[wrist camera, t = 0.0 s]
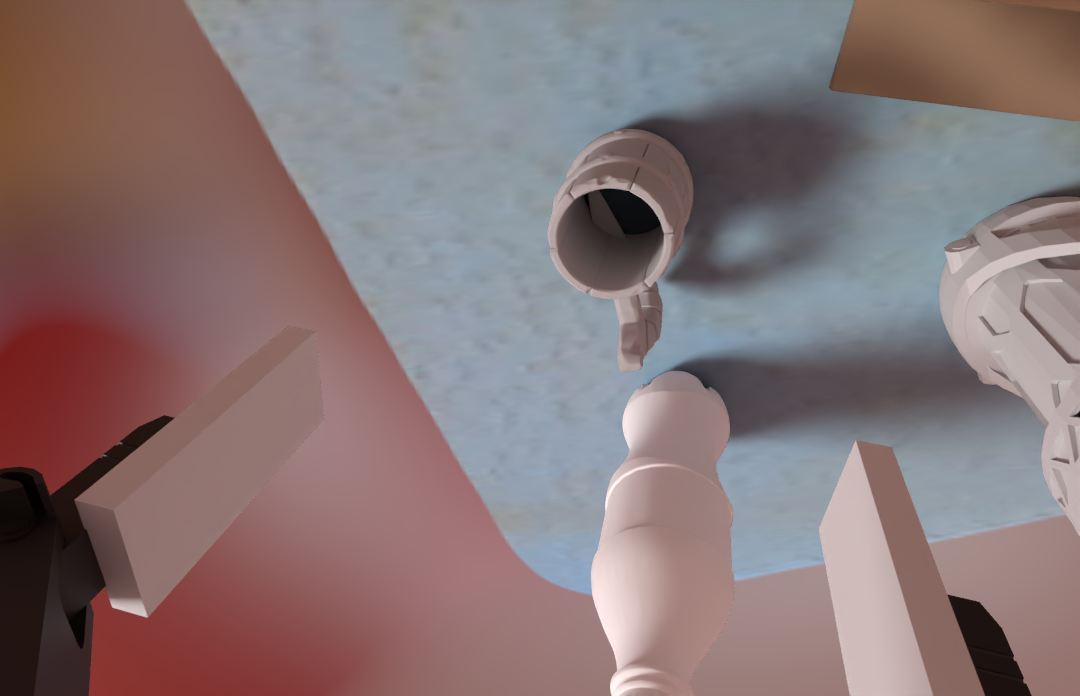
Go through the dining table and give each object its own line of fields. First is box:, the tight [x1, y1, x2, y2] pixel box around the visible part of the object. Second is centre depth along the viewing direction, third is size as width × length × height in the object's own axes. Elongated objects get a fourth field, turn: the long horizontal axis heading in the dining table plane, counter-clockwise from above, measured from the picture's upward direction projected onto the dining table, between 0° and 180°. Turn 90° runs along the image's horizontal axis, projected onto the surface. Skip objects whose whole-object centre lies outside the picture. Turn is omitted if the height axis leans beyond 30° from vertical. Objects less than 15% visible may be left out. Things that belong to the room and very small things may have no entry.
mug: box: [548, 129, 694, 372], centre depth 37 cm, size 8×12×12 cm, turn 16°
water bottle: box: [591, 371, 735, 696], centre depth 37 cm, size 7×7×25 cm
